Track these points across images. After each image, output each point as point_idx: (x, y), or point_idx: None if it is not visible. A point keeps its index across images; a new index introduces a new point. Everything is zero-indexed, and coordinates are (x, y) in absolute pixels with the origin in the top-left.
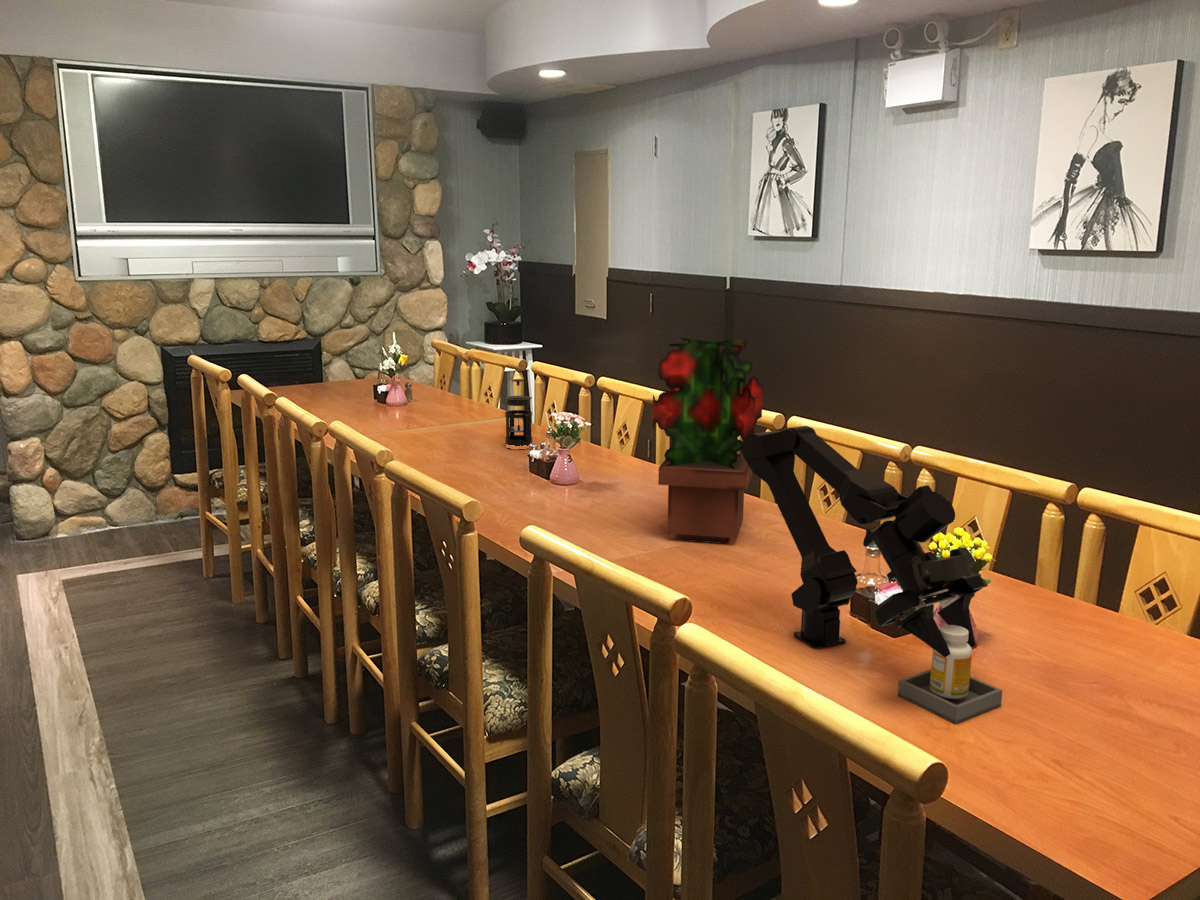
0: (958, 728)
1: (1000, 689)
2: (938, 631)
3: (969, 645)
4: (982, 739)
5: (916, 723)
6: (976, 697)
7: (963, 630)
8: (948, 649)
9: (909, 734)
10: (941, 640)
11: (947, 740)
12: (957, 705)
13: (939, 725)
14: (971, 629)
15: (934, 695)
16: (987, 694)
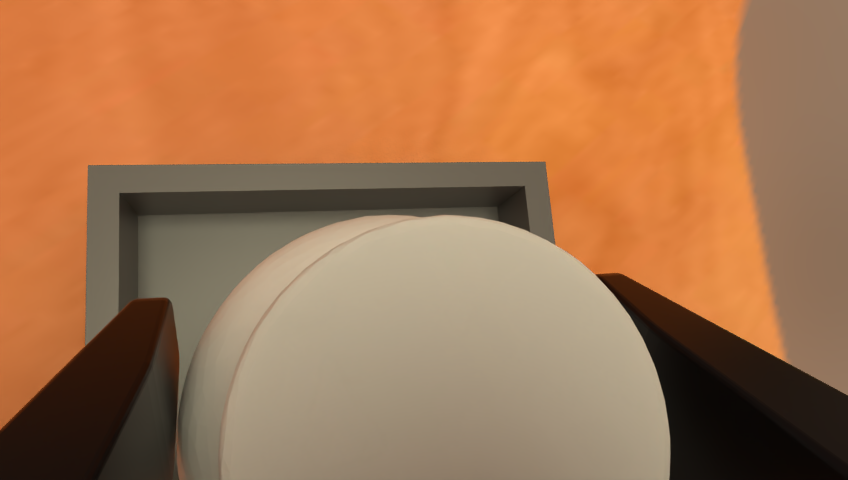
0: (525, 159)
1: (90, 179)
2: (831, 428)
3: (243, 309)
4: (505, 40)
5: (664, 293)
6: (341, 187)
7: (348, 342)
8: (621, 293)
9: (753, 236)
10: (750, 346)
11: (645, 117)
12: (523, 179)
13: (583, 224)
14: (34, 424)
15: None
16: (242, 176)
